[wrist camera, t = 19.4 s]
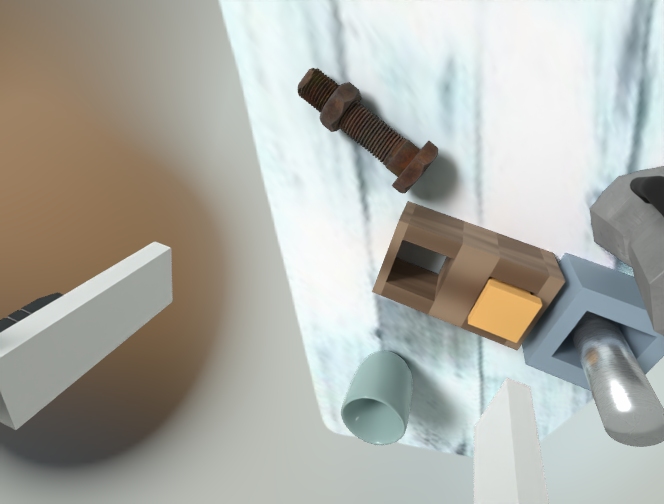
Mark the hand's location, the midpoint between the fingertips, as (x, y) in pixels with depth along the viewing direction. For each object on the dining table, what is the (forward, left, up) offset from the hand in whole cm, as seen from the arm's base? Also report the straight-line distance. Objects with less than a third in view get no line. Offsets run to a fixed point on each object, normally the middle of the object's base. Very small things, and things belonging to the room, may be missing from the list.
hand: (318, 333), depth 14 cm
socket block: (+9, +9, -30) cm, 33 cm away
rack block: (+9, +22, -30) cm, 38 cm away
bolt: (-2, -6, -31) cm, 31 cm away
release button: (+9, +13, -29) cm, 33 cm away
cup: (+28, +6, -30) cm, 42 cm away
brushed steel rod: (+9, +22, -30) cm, 38 cm away
